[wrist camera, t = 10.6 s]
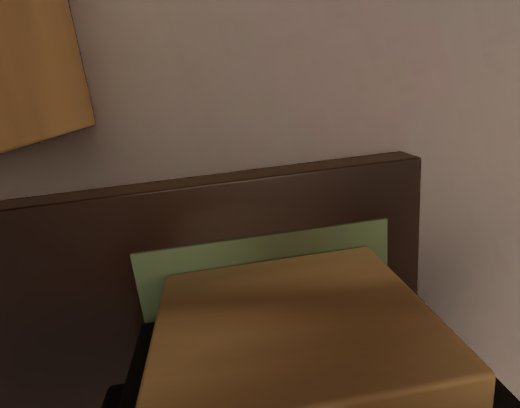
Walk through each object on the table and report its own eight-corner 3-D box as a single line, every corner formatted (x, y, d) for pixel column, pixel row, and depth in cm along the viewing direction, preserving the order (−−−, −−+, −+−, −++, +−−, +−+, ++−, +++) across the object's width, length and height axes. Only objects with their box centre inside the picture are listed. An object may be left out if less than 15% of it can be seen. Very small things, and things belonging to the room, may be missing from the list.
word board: (-350, 560, 11) (-411, 612, 10) (-597, 274, 8) (-719, 302, 7) (398, 417, 13) (415, 447, 12) (401, 150, 10) (424, 157, 9)
